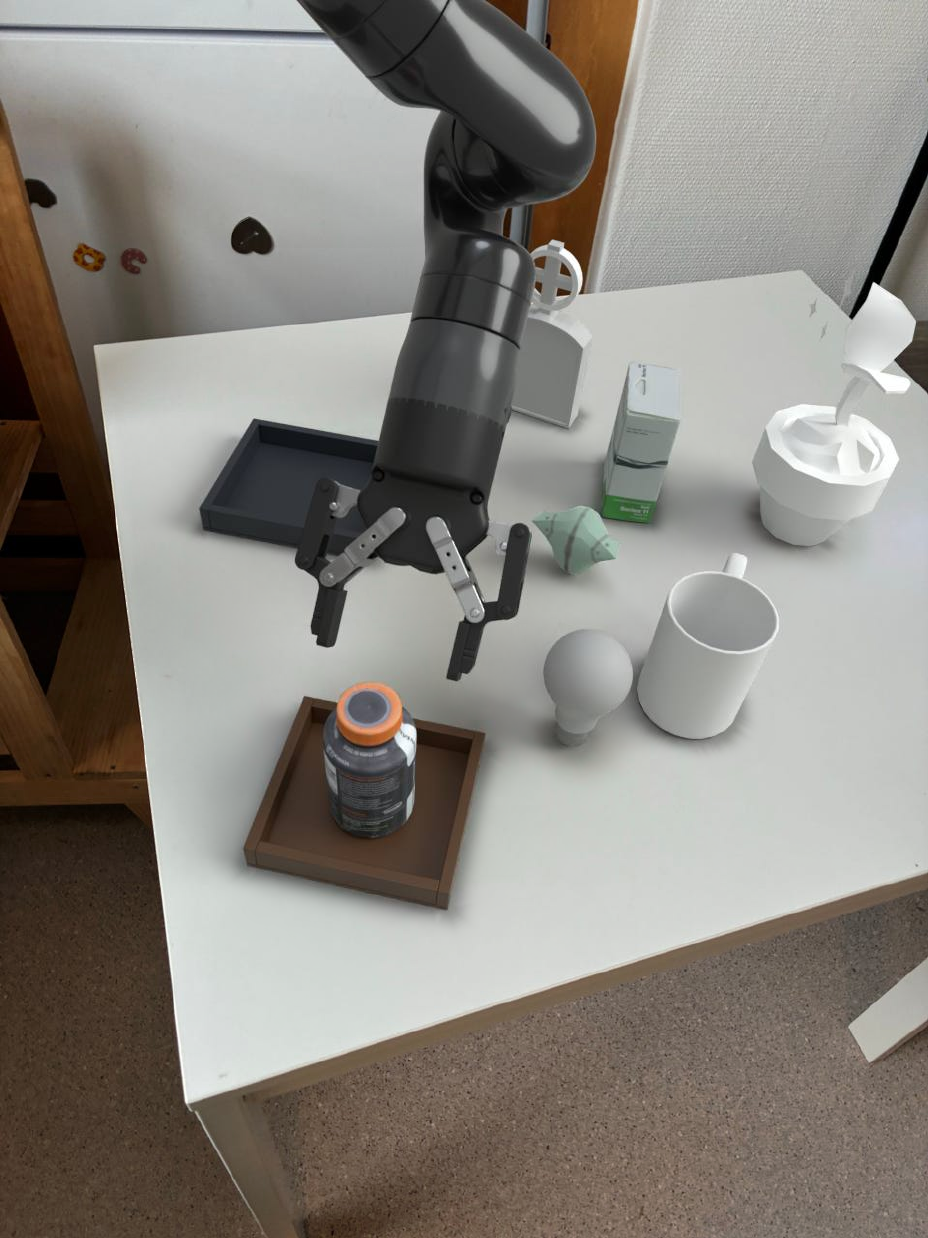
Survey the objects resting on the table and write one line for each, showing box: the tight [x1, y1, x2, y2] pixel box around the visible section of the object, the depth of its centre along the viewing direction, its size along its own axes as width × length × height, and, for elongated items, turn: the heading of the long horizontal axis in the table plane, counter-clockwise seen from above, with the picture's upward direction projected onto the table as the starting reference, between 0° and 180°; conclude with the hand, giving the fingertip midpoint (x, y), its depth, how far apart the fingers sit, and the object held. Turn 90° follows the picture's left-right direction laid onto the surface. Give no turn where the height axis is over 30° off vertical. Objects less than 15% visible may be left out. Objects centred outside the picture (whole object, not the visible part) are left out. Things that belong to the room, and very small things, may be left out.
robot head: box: [531, 505, 620, 576], centre depth 78 cm, size 8×4×7 cm, turn 58°
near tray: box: [242, 695, 486, 911], centre depth 62 cm, size 14×13×2 cm
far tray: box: [198, 418, 379, 557], centre depth 83 cm, size 16×14×3 cm
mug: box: [636, 552, 780, 740], centre depth 69 cm, size 12×8×10 cm, turn 157°
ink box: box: [601, 361, 682, 524], centre depth 83 cm, size 9×5×12 cm, turn 171°
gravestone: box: [511, 239, 594, 429], centre depth 89 cm, size 3×9×18 cm, turn 64°
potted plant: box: [751, 264, 917, 547], centre depth 76 cm, size 13×12×25 cm
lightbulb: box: [542, 628, 634, 747], centre depth 64 cm, size 6×6×11 cm
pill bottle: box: [323, 681, 416, 838], centre depth 59 cm, size 6×6×11 cm
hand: (389, 662), depth 57 cm, fingers open, 8 cm apart
